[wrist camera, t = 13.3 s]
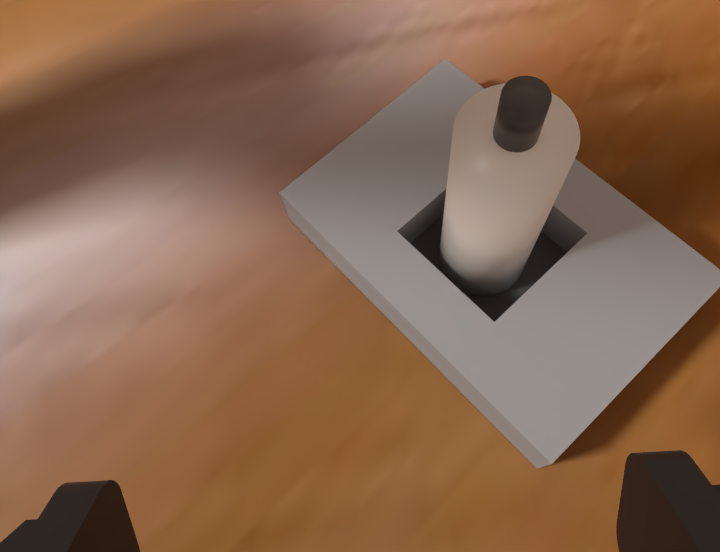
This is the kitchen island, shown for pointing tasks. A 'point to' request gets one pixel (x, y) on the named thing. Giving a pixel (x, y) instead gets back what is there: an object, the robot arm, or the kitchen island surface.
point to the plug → (503, 181)
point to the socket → (526, 297)
